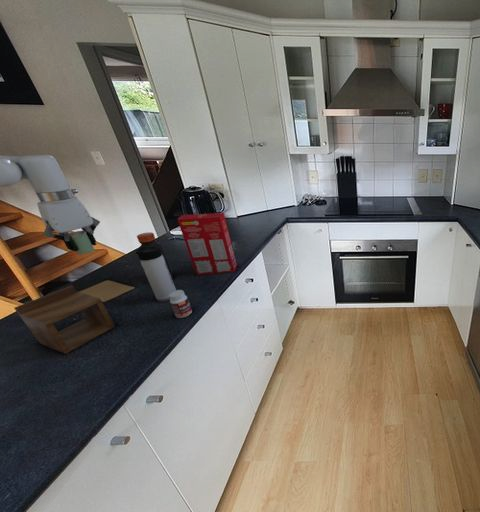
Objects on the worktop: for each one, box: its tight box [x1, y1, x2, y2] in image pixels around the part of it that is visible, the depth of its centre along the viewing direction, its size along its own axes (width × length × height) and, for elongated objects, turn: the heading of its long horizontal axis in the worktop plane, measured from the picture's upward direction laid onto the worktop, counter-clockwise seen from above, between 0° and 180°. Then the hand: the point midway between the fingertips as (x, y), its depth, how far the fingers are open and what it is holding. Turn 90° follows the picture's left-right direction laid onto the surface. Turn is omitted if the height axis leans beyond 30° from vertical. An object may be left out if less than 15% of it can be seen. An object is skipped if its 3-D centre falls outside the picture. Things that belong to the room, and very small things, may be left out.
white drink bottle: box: [136, 231, 174, 280], centre depth 107 cm, size 7×7×20 cm
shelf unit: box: [13, 284, 116, 355], centre depth 80 cm, size 12×12×13 cm
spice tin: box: [69, 230, 95, 255], centre depth 94 cm, size 5×5×7 cm
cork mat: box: [79, 279, 136, 303], centre depth 103 cm, size 16×10×1 cm, turn 72°
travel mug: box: [135, 247, 177, 302], centre depth 96 cm, size 6×7×20 cm
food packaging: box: [177, 212, 238, 276], centre depth 113 cm, size 15×5×25 cm, turn 104°
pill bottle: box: [169, 289, 193, 319], centre depth 90 cm, size 5×5×8 cm
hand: (83, 247), depth 95 cm, fingers closed on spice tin, 4 cm apart
